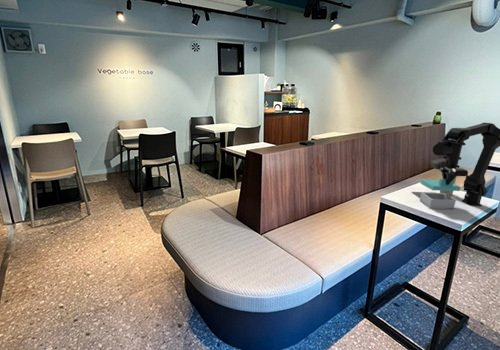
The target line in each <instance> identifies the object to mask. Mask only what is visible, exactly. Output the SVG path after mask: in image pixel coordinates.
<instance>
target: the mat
mask: <svg viewBox="0 0 500 350" xmlns="http://www.w3.org/2000/svg"><path fill="white" fill-rule="evenodd" d="M421 192H422V191H411V193H412V194H413V195H415V196H416V197H417V198H419V199H420V197H421ZM423 192H424V193H436V192H429V191H423Z"/></svg>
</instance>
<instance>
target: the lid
mask: <svg viewBox="0 0 500 350" xmlns="http://www.w3.org/2000/svg"><path fill="white" fill-rule="evenodd" d="M453 182H454V180H453V181H452V182H451V183H450V184H449V185H446V179H443V178H439V179H421V180H420V184H421V185H422V186H424V187H426V188H428V189H430V190H431V191H439V192H440V191H453V192H460V191H461V186H459V185H457V184H456V183H455V184H453Z"/></svg>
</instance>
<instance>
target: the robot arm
mask: <svg viewBox="0 0 500 350" xmlns="http://www.w3.org/2000/svg"><path fill="white" fill-rule="evenodd" d="M476 135H480V136H482V145H483V148H482V150H481V152H480V155H479V158H478V159H477V161H476V164H475V166H474V169H473V172H472V173H470V175H468V174H469V171H468V170H467V169H465V168H461V167H460V165H459V160H460V161H461V160H462V157H461V153H462V148H463V146H466V145H467V144H466V142H465V141H467V140H469V138H470V137H473V136H476ZM499 147H500V128H499V127H497V126H496V125H495V124H494V123H491V122H482V123H479V124H476V125H471V126H468V127H451V128H450V129H449V130H448V132H447V133H445V135H444V137H443V138H442V139H441V140H439V141H438V142H437V143H436V144H434V146H433V147H432V152H433V154H434V156H439V157H440V156H442V157H441V158H437V159H434V160H431V162H430V163H431V166H432V167H431V168H433V169H435V170H438V171H439V172H440V173H441V175H442V179H446V185H449V184H450V183H451V182H452V181H453V179H454V178H456V179H457V177H465V179H464V181H463V191H466V192H465V194H464V197H463V199H461V201H462V202H463V203H465V204H466V205H469V206H479V207H480V206H482V205H483V204H482V203H481V202H482V201H481V200H482V198H483V197H484V196H486V195H487V193H488V190H487V188H486V187H485V185H486V178H485V175H486V173H487V170H488V167H489V166H490V163H491V161H492V159H493V156H494V153H495V151H496V150H497V149H498V148H499Z"/></svg>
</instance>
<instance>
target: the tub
mask: <svg viewBox="0 0 500 350" xmlns="http://www.w3.org/2000/svg"><path fill="white" fill-rule="evenodd" d="M420 192H421V197H420V198H419V202H420V203H422V204H423V205H424V206H425V207H427V208H428V209H431V210H432V209H435V210H436V209H437V210H454V209H455V204H456V202H457V201H456V199H454V198H453V197H452V196H448V195H446V194H445V193H440V192H435V193H424V192H425V191H420Z"/></svg>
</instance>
